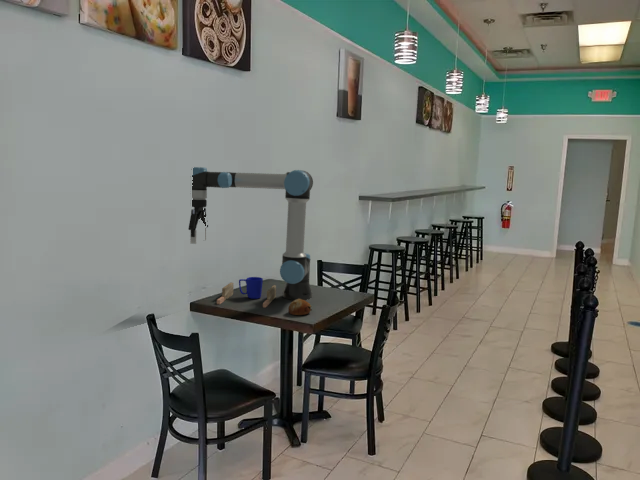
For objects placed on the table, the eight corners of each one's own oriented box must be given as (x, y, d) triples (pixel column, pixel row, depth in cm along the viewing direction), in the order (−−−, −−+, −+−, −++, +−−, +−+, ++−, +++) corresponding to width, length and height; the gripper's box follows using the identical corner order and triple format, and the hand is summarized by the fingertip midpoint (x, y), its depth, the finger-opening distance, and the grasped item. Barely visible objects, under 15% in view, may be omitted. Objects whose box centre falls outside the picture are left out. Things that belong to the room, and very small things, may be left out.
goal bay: (269, 304, 251) (269, 300, 251) (265, 307, 244) (266, 303, 244) (221, 300, 254) (221, 296, 254) (216, 304, 247) (216, 299, 247)
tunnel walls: (275, 297, 266) (276, 285, 265) (269, 303, 252) (270, 291, 251) (230, 293, 269) (230, 282, 268) (222, 300, 255) (222, 288, 254)
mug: (240, 295, 267) (240, 276, 266) (263, 296, 266) (263, 277, 265) (237, 299, 259) (237, 279, 257) (261, 300, 258) (261, 280, 257)
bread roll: (297, 317, 241) (290, 301, 242) (316, 308, 238) (308, 292, 239) (290, 322, 232) (282, 306, 232) (309, 313, 229) (301, 297, 229)
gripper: (200, 197, 266) (200, 238, 269) (181, 199, 242) (181, 244, 244) (214, 198, 265) (214, 239, 268) (197, 200, 241) (196, 245, 243)
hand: (198, 241), depth 256 cm, fingers open, 13 cm apart
